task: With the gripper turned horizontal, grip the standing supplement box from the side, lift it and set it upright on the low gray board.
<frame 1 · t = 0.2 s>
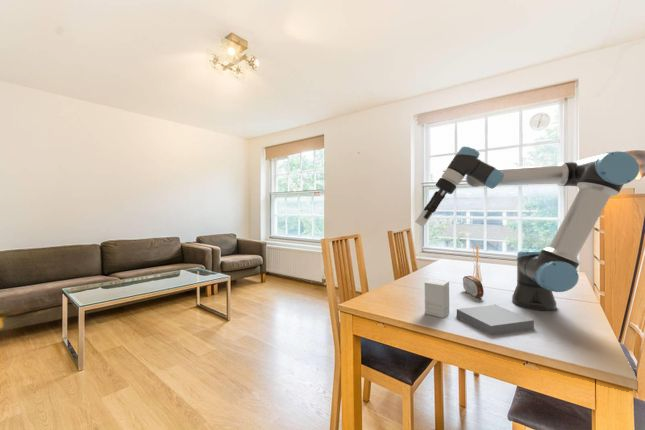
hand: (418, 224, 119), 35 cm above the table, tool tilted 35°, fingers open, 13 cm apart
gray board: (493, 322, 102), on the table
supplement box: (437, 313, 111), on the table
tin: (472, 295, 134), on the table
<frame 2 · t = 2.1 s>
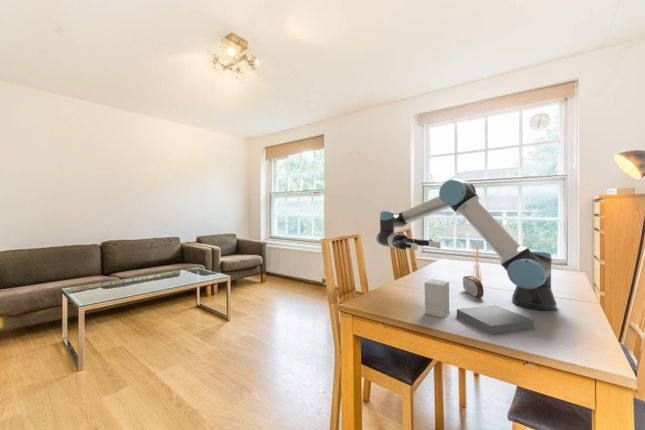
hand: (428, 246, 126), 25 cm above the table, tool horizontal, fingers open, 13 cm apart
nothing on the table moved.
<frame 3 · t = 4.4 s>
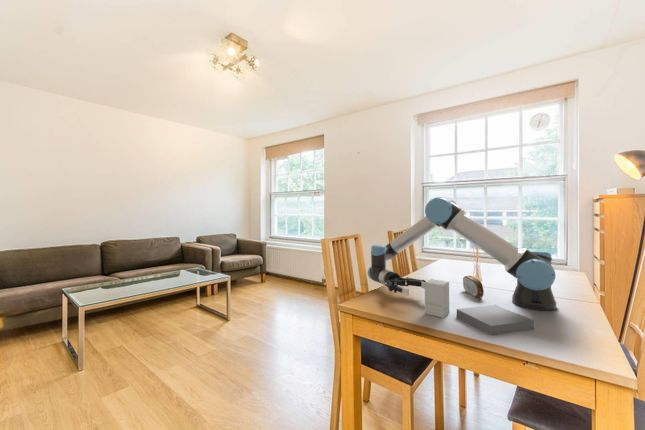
hand: (420, 290, 119), 7 cm above the table, tool horizontal, fingers open, 13 cm apart
nothing on the table moved.
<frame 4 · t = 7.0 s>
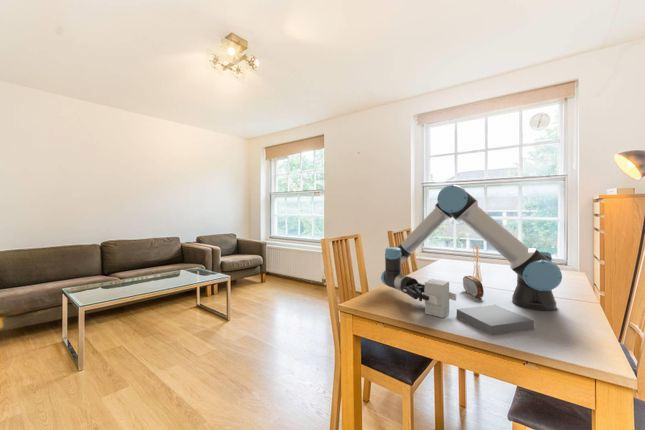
hand: (446, 298, 107), 7 cm above the table, tool horizontal, fingers closed on supplement box, 9 cm apart
supplement box: (437, 313, 111), on the table, touching gripper
everything else where it was.
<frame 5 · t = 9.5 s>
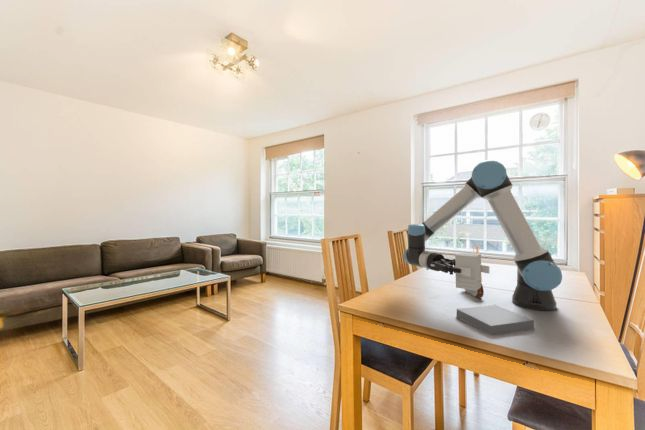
hand: (479, 271, 101), 19 cm above the table, tool horizontal, fingers closed on supplement box, 9 cm apart
supplement box: (468, 287, 105), point 12 cm above the table, touching gripper
everything else where it was.
when the fingers open (11 cm above the table, at t = 12.3 s): supplement box drops 1 cm, resting on gray board.
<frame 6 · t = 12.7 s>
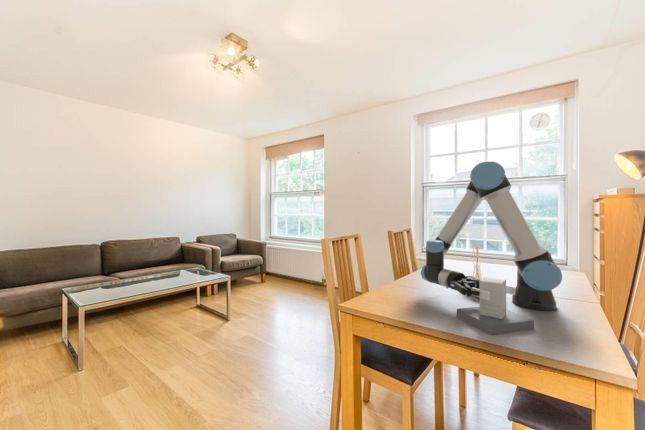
hand: (502, 293, 98), 11 cm above the table, tool horizontal, fingers open, 13 cm apart
supplement box: (492, 314, 102), point 3 cm above the table, touching gray board
everything else where it was.
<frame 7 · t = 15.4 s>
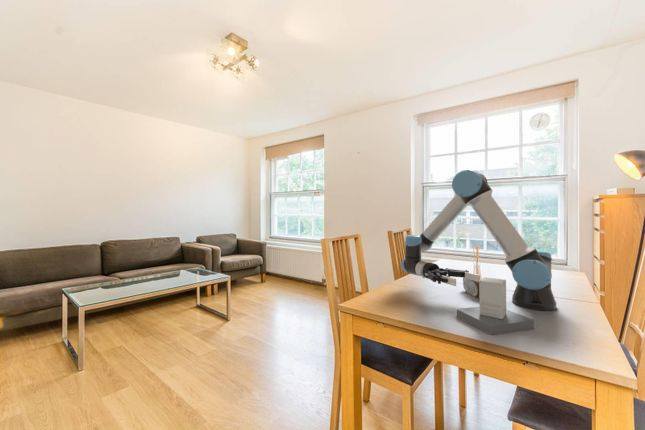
hand: (467, 280, 111), 13 cm above the table, tool horizontal, fingers open, 13 cm apart
nothing on the table moved.
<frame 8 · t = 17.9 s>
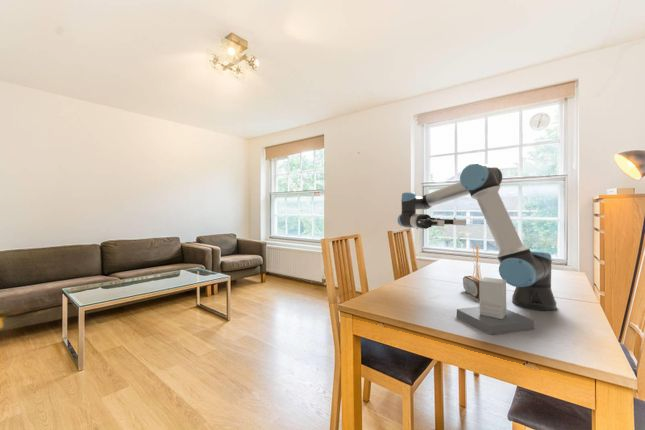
hand: (454, 223, 127), 35 cm above the table, tool horizontal, fingers open, 13 cm apart
nothing on the table moved.
at the end: supplement box inside the target area on the gray board (0.1 cm from its centre), point 2.8 cm above the gray board's base; supplement box tilted 0°; the gripper is holding nothing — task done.
